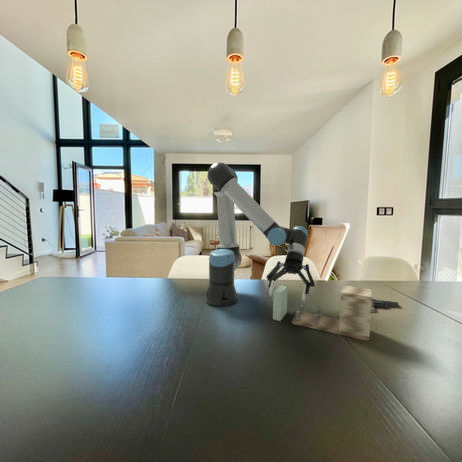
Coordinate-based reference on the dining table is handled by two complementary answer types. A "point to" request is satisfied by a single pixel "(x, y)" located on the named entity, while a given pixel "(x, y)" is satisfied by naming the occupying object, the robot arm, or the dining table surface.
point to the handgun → (382, 304)
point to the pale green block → (279, 302)
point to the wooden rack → (343, 315)
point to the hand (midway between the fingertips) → (286, 297)
